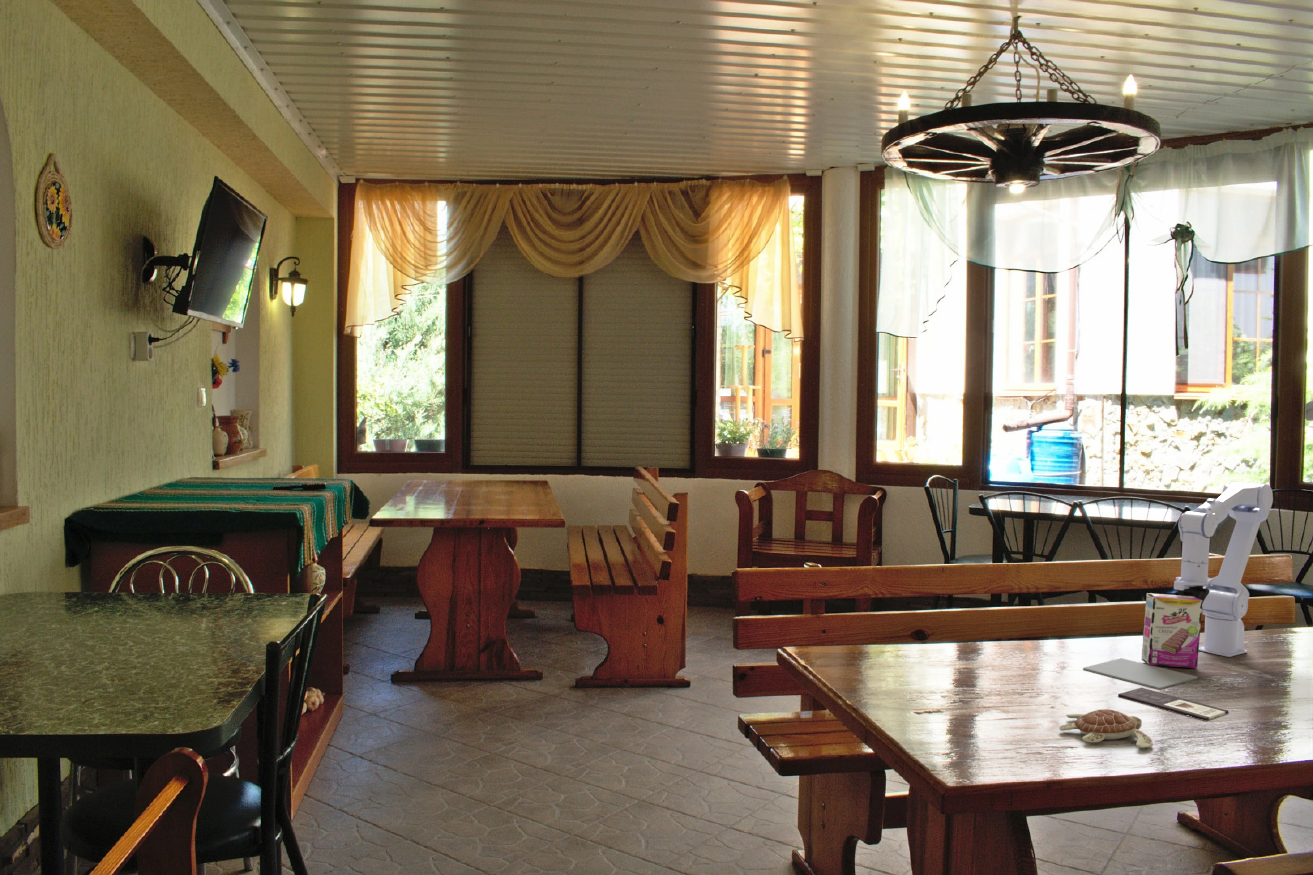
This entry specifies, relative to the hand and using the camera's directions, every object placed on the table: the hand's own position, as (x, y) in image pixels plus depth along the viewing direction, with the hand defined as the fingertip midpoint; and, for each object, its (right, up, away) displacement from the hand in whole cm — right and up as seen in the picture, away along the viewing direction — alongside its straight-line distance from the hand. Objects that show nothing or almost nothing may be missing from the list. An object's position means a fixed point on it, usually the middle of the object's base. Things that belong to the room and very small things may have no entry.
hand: (1191, 617), depth 236 cm
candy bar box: (-8, -11, -5) cm, 14 cm away
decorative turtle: (-45, -13, -53) cm, 71 cm away
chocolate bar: (-23, -12, -34) cm, 43 cm away
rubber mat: (-19, -11, -12) cm, 25 cm away
